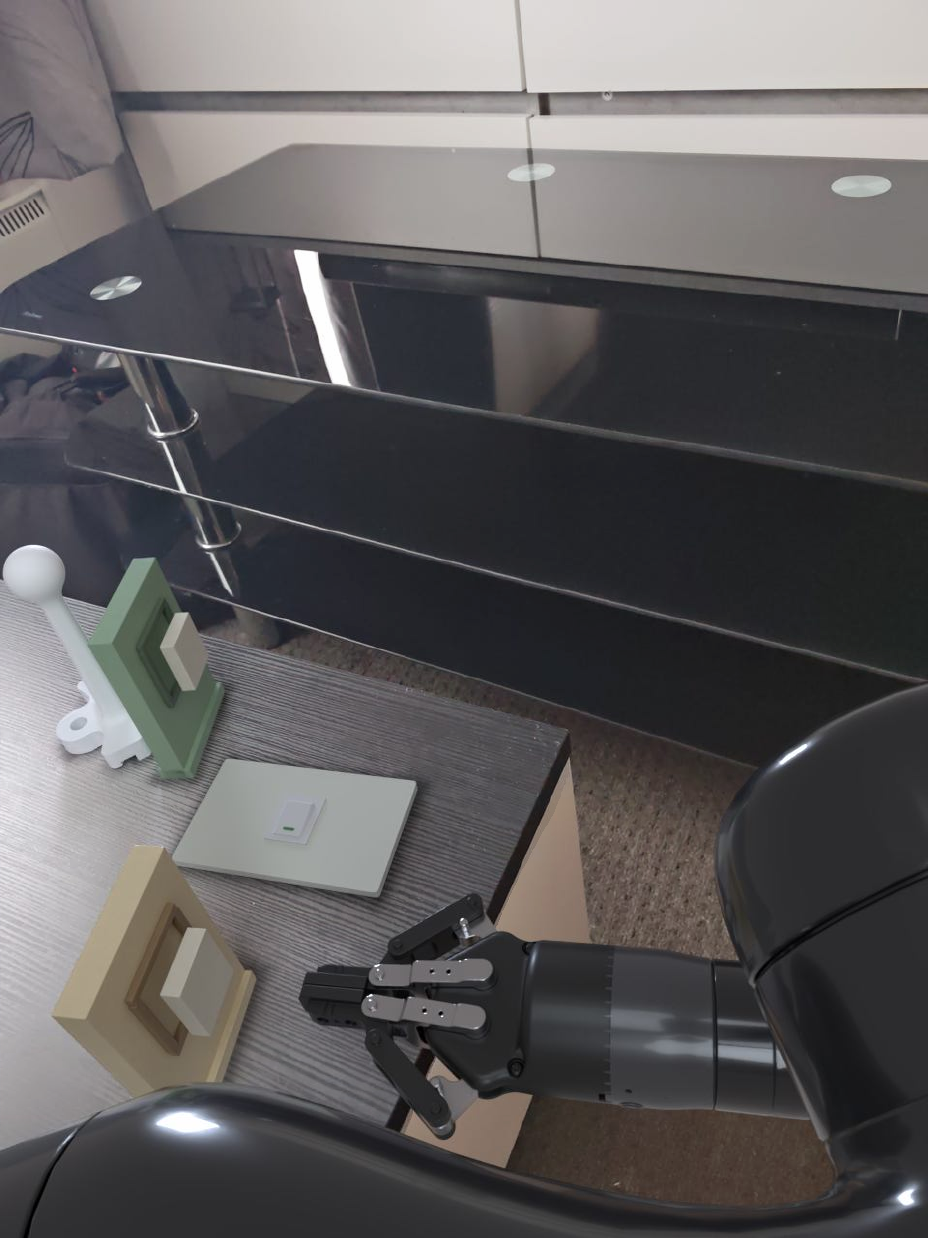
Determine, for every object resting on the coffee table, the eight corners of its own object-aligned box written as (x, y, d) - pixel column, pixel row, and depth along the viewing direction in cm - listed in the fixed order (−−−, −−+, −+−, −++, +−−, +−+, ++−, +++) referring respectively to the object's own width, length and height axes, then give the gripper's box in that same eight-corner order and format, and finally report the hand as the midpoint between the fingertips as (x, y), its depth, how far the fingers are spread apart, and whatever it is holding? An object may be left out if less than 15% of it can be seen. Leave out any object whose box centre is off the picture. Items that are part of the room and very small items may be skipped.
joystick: (164, 748, 80) (63, 574, 67) (80, 790, 78) (-41, 619, 65) (132, 677, 88) (36, 507, 75) (55, 713, 86) (-58, 546, 73)
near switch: (234, 970, 55) (206, 928, 52) (210, 1037, 53) (179, 997, 49) (216, 969, 56) (187, 927, 52) (191, 1035, 53) (159, 995, 49)
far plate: (225, 691, 85) (161, 556, 74) (194, 778, 77) (118, 642, 67) (195, 692, 85) (126, 559, 74) (161, 779, 78) (80, 645, 67)
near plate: (257, 978, 63) (172, 846, 52) (204, 1136, 56) (94, 1020, 45) (217, 975, 64) (125, 843, 53) (160, 1130, 56) (41, 1015, 46)
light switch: (415, 777, 72) (375, 890, 65) (418, 786, 73) (379, 899, 66) (224, 754, 77) (168, 857, 70) (228, 763, 78) (173, 866, 71)
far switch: (209, 655, 77) (188, 611, 74) (196, 690, 74) (173, 646, 71) (196, 656, 77) (174, 612, 74) (182, 691, 74) (159, 647, 71)
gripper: (622, 870, 49) (320, 852, 53) (611, 1136, 40) (244, 1091, 44) (627, 939, 54) (350, 919, 58) (618, 1190, 45) (288, 1146, 49)
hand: (305, 993), depth 51 cm, fingers closed
